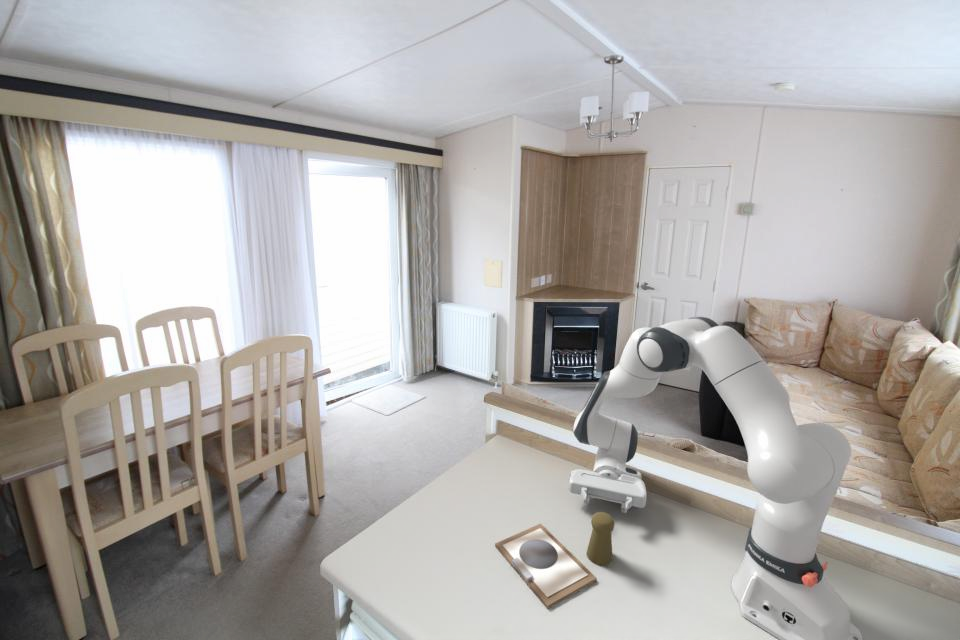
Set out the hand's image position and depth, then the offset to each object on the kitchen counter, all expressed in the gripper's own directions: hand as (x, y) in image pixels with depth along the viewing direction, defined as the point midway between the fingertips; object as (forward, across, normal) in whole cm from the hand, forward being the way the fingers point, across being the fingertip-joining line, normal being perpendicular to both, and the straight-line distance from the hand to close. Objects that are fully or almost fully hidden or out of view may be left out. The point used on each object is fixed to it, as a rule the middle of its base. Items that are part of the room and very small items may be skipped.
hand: (605, 506), depth 116 cm
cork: (+11, 0, +6) cm, 12 cm away
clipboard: (+18, -12, +6) cm, 22 cm away
